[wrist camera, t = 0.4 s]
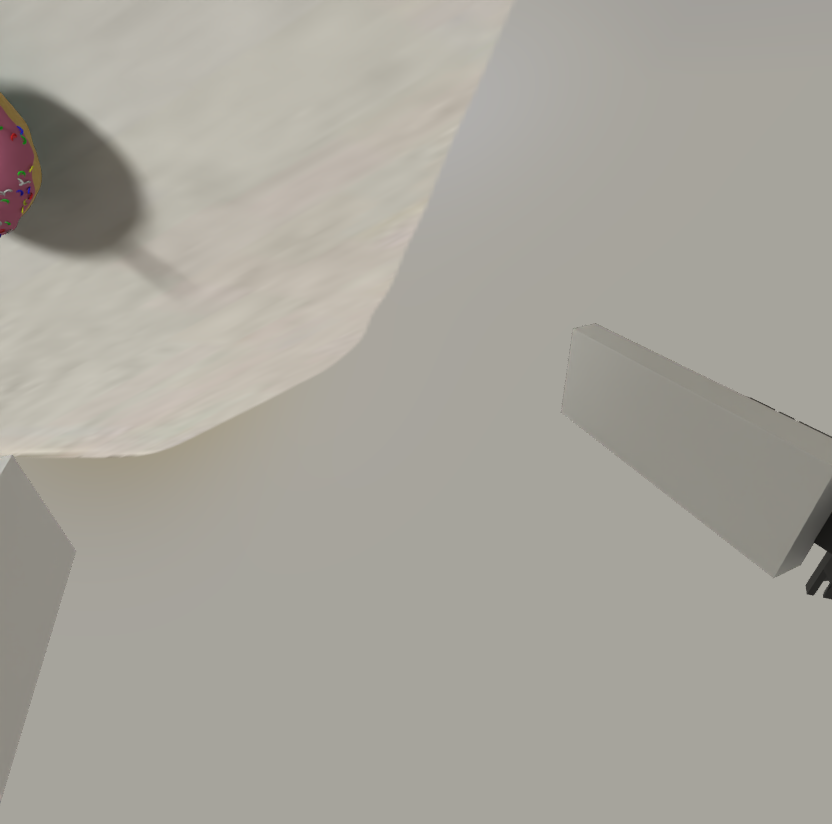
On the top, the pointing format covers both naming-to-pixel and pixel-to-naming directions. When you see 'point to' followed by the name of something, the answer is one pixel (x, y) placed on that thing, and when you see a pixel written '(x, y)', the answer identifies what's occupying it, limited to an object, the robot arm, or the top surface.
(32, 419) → the top surface
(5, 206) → the cupcake
